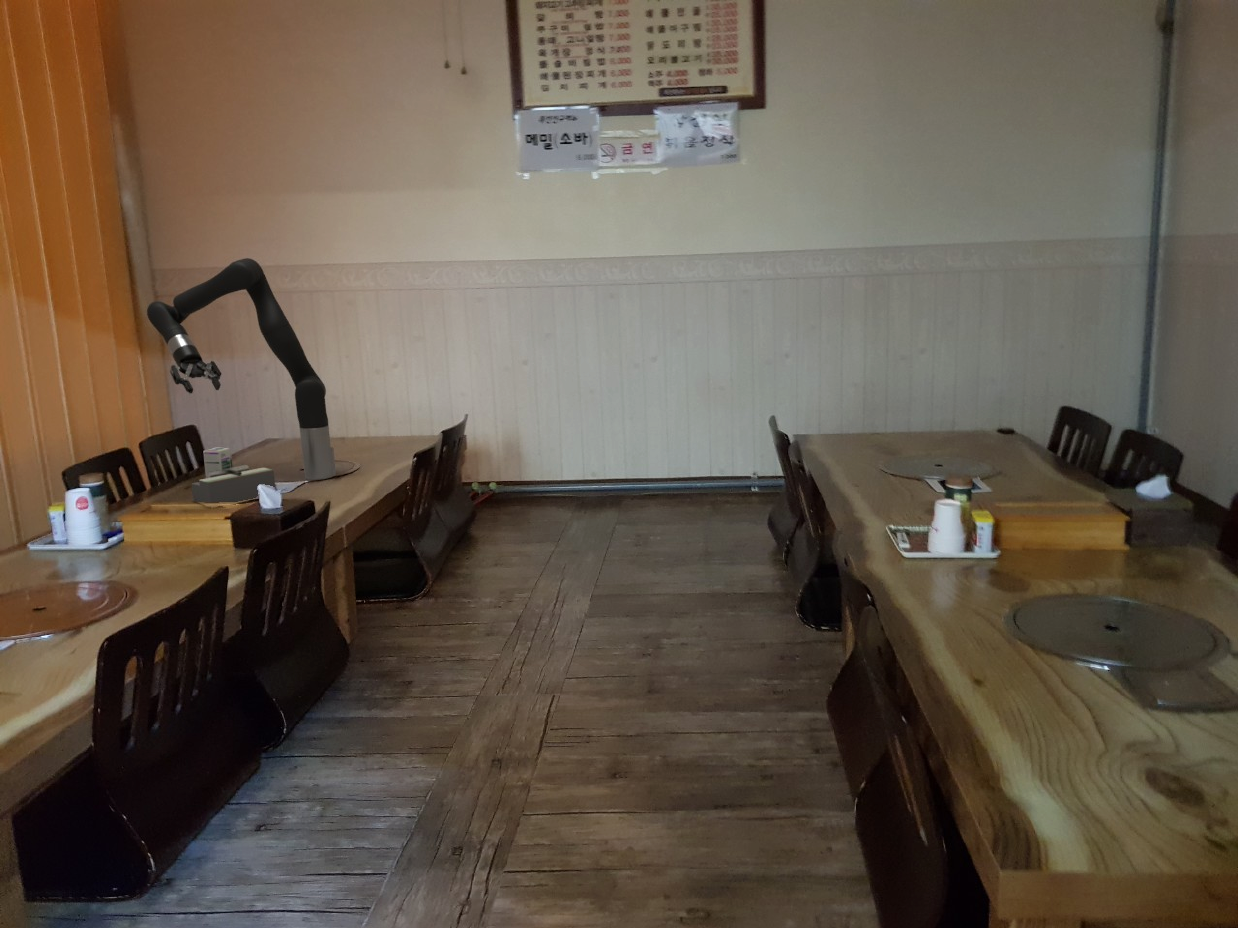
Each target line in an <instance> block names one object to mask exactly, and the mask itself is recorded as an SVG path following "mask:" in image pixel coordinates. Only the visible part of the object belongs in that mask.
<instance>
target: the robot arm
mask: <svg viewBox="0 0 1238 928" xmlns="http://www.w3.org/2000/svg"><path fill="white" fill-rule="evenodd" d="M244 290H246V291H247V293H248V295H249V296H250V299H251V300H252V302H253V305H254V308H255V312H256V316H257V321H258V327H259V330H260V332H261V335H262V336H263V339H264V340H265V342H266V344H267V345H268V347H269V349H270V350H271V351H272V353H273V354H274V355H275V356H276V358H277V360H279V362H281V364H282V365H283V367H285V369H286V370H287V372H288V374H289V376H290V378H291V380H292V382H293V384H294V387H295V390H294V399H295V407H296V408H295V409H296V414H297V415H296V416H297V420H298V425H299V434H300V435H299V436H300V444H301V453H302V455H301V456H302V464H303V471H304V473H303V475H304V479H305V480H309V481H310V480H311V481H316V480H317V481H318V480H320V481H321V480H325V479H329V478H333V477H335V476H337V470H336V460H335V449H334V448H333V446H331V445H332V444H331V434H330V426H329V418H328V412H327V407H326V404H327V403H326V395H327V394H326V393H327V390H326V386H325V383H324V382H323V381H322V379H321V378H320V377H319V375H318V373H317V372H316V371H315V370H314V368H313V366H312V365H311V363H310V361H309V360H308V358H307V356H306V354H305V351H304V349H303V346H302V345H301V342H300V341H299V339H298V337H297V335H296V332H295V331H294V328H293V327H292V325H291V324H290V321H289V320H288V318H287V317H286V315H285V313H284V311H283V310H282V307H281V306H280V304H279V302H278V300H277V298H276V297H275V295H274V292H273V291H272V288H271V286H270V283H269V281H268V280H267V276H266V274H265V272H264V270H263V268H262V266H261V265H260V263H259V262H257V261H256V260H255V259H252V258H247V257H246V258H242V259H237V260H235V261H232V262H231V263H230V264H229V265H227V266H226V267H225V268H224V269H223V270H221V271H220V272H219V273H217V274H216V275H214V276H213V277H211V278H209V279H208V280H206V281H204V282H202V283H200V284H198V285H195V286H193V287H191V288H188V289H186V290H185V291H183V292H182V293H179V294H177V295H175V296H174V298H173V300H172V302H173V303H172V304H173V305H169V304H167V303H165V302H163V301H158V300H157V301H153V302H151V303H150V304H149V305H148V306H147V309H146V310H147V311H146V314H147V319H148V320H149V322H150V324H151V325H152V326H153V327H154V328H155V329H156V331H157V332H158V333H159V334H160V335H161V336H162V338H163V339H164V342H165V344H166V345H167V347H168V350H169V353H170V355H171V356H172V358H173V360H174V362H175V363H176V365H177V366H176V365H174V364H172V365H171V367H170V368H169V369H170V370H169V373H170V375H171V378H172V379H173V382H174V384H176V385H182V386H183V387H184V389H185V391H186V393H188V394H193V392H194V387H193V386H192V384H191V382H190V381H189V378H191V379H196V378H203V379H205V380H210V381H211V383H212V386H213V388H214V389H215V391H219V390H220V388H221V382H220V379H221V376H222V372H221V370H220V369H219V367H218V365H217V364H216V363H215V362H214V360H211V361H210V362H209V363H206V362H204V361H203V358H202V356H201V354H200V353H199V351H198V349H197V347H196V344H195V343H194V342H193V340H192V339H191V337H190V336H189V334H188V333H187V330H186V329H185V327H184V326H183V325H182V323H183V322H184V321H185V320H186V319H187V318H188V317H189V316H191V315H192V314H193V313H197V311H200V310H201V309H204V308H205V307H207V306H209V305H210V304H212V303H214V301H216V300H217V299H219V298H221V297H224V296H226V295H228V294H232V293H236V292H239V291H244ZM180 373H182V374H183V375H184V376H183V377H181V375H180Z"/></svg>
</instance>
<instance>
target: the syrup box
mask: <svg viewBox="0 0 1238 928" xmlns="http://www.w3.org/2000/svg"><path fill="white" fill-rule="evenodd" d="M232 457H233V456H232V449H231V447H222V446H218V447H213V448H210V449H205V450H203V461H204V471H205V472H204V473H205V479H206V478H208V476H207V472H210V471H215V470H221V469H226V468H231V467H233V459H232Z"/></svg>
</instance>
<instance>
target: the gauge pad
mask: <svg viewBox="0 0 1238 928" xmlns="http://www.w3.org/2000/svg"><path fill="white" fill-rule="evenodd" d="M248 470H250V468H249V465H248V464H241V465H238V466H232V467H231V468H226V469H221V470H215V471H210V472H207V476H208V478H212V477H217V476H222V475H227V474H232V473H233V474H237V475H241V474H242V472H243V471H248Z"/></svg>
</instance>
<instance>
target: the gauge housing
mask: <svg viewBox="0 0 1238 928" xmlns="http://www.w3.org/2000/svg"><path fill="white" fill-rule="evenodd" d="M259 484H265V485H270V486H273V487H275V488H276V481H275V471H274V469H273V468H268V467H260V468H259V467H258V468H253V469H249V470H248V471H243V472H242V474H241V475H237V474H233V473H232V474H227V475H222V476H217V477H212V478H206V477H205V478H203V479H198V481H196V482H192V483H191V490H192V491H191V492H192V499H193V502H194V501H195V502H194V503H196V502H205V503H219V502H238V501H243V500H248V499H253V498H256V497H257V496H258V490H257V486H258V485H259Z"/></svg>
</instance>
